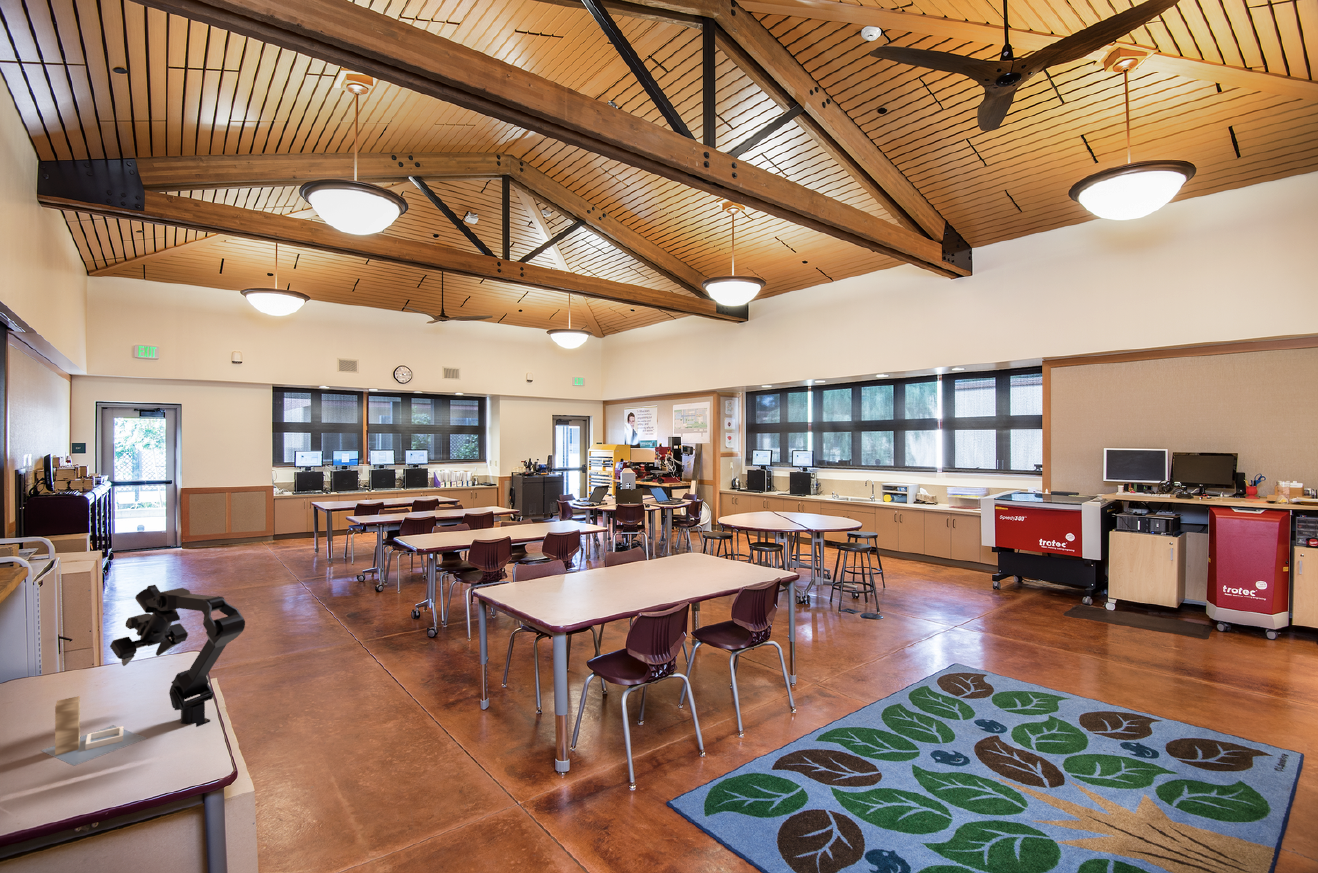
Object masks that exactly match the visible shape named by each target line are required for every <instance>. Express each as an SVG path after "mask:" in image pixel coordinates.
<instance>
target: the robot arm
mask: <svg viewBox="0 0 1318 873" xmlns="http://www.w3.org/2000/svg"><path fill="white" fill-rule="evenodd" d="M135 601H136V602H137V604H138V605H139V606H140V608H142V610H143V611H144V613H143V614H142V613H141V614H139V615H134V616H131V617H128V618H127V619H126V621H125V627H126V628H128V630H132V629H134V630H136V635H137V636H138V637H139V638H140V639H136V640H132V639H131V637H130V636H124V637H120V638H117V639H113V640H112V642H111V644H110V645H109V648H110V649H111V650H112V652H113V653H114V655H115V656H116V657H117V659H120V660H121V665H122V666H123V667H125V666H127V665H128V664H129V662H131V661H132V659H133V658H134V657H136V656H135V654H136V653H137V649H140V648H144V647H147V646H148V647H151V646H155V645H157V644H159V645H158V647H157V650H156V652H155V656H156V657H159V656H160V655H161V656H162V655H163V654H164V653H165V652H167V651H168V650H171V649H172V648H174V647H175V646H177V645H178V644H181V643H182V642H185V641H186V640H187V638H188V637H189V632H188V631H187V630H186V629H185V627H184V626H183V625H182V624H181V623H174V624H172V623H173V622H177V621H181V616H180V615H179V613H178V609H181V610H189V611H198V612H202V613H203V622H202V624H203V627H204V628H205V630H206V632H205V633H206V636H207V640H206V642H205V644H204V646H203V647H202V648H201V650H200V652H199V653H198V655H197V656H196V658H195V660H194V661H193V663H192V665H191V666H190V668H188V669H187V670H184V671H180V672H178V673H177V674H176V675H175V677H174V678H173V680H172V681H171V686H170V688H169V692H168V695H169V697H170V703H171V707H172V709H174V711H180V724H183V725H190V724H191V725H194V724H195V727H196V728H197V727H200V726H203V725H205V724H208V723H210V722H211V719H210V718H207V717H206V714H205V713H206V711H205V710H206V707H205V706H206V702H208V701H209V700H213V698H214V695H215V694H214V691H213V689H212V688H211V686H210V684H209V679H208V677H207V676H208V675H209V673H210V671H211V670H212V668H213V666H214V665H215V663H216V662H217V660H218V659H219V657H220V655H221V654H222V653H223V651H224V649H225V648H226V647H227V645H228V644H229V643H230V642H231V641H234V640H235V639H236V638H238V637H239V636H240V635H241V634H242V633H243V631H244V630H245V627H246V620H245V618H244V616H243V615H242V614H241V612H240V610H239V609H238V608H237V607H235V606H234V605H232V604H230V603H229V602H227V601H226V599H225V597H223V596H220V595H216V596H215V595H204V594H196V593H191V590H189V589H187V588H185V587H179V588H175V589H169V590H164V591H161V590H159V588H158V586H157V585H156V584H150V585H147V587H146V588H144V589H143V590H141V591H140V592H138V593H137V594H136V595H135ZM215 611H219V612H221V613H222V614H223V615H225V616H224V617H221V618H217V619H213V617H212V612H215Z"/></svg>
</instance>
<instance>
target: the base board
mask: <svg viewBox="0 0 1318 873" xmlns="http://www.w3.org/2000/svg"><path fill="white" fill-rule="evenodd" d="M116 727H118V726H116V725H111V726H108V727H105V728H102V729H100V730H96V731H93V732H92V733H94V732H99V731H103V730H107V729H112V728H116ZM115 736H119V733H117V734H113V735H109V736H104V737H100V738H96V739H92V740H91V742H94V741H98V740H102V739H106V738H111V737H115ZM86 739H87V734H85V735H80V745H79V750H75V751H70V752H66V753H62V754H58V755H55V745H53V746H50V747H47V748H44V749H41V750H40V751H41V752H42V753H45V754H47V755H49V756H51V757H54V758H56V759H58V760H60V761H62V762H65V763H66V764H69V765H71V766H73V767H74V766H77V765H80V764H84V763H86V762H88V761H91V760H94V759H96V758H99V757H101V756H104V755H106V754H110V753H112V752H114V751H116V750H120V749H122V748H125V747H128V746H130V745H133V744H135V743H138V742H142V741H145V740H146V739H148V737H145V736H143V735H140V734H137V733H135V732H132V731H129V730H127V729H124V732H123V741H121V742H117V743H113V744H109V745H104V746H100V747H96V748H92V749H88V750H85V744H86Z"/></svg>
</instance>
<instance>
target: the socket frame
mask: <svg viewBox="0 0 1318 873" xmlns="http://www.w3.org/2000/svg"><path fill="white" fill-rule="evenodd" d="M124 728H125V727H124V725H121V726H117V727H116V728H112V729H107V730H103V731H99V730H98V731H99V732H96V731H93V732H94V733H93V732H91V733H87V734H86V735H87V739H86V744H85V750H88V749H92V748H96V747H100V746H104V745H109V744H113V743H117V742H121V741H123V732H124V730H125V729H124ZM117 733H119V736H115V737H111V738H106V739H102V740H98V741H94V742H91V740H92V739H96V738H100V737H104V736H109V735H113V734H117Z"/></svg>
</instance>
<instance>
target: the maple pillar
mask: <svg viewBox="0 0 1318 873" xmlns="http://www.w3.org/2000/svg"><path fill="white" fill-rule="evenodd" d="M54 708H55V714H54V720H55V721H54V722H55V724H54V727H55V729H54V730H55V733H54V736H55V738H54V739H55V742H54V743H55V744H54V746H55V755H58V754H62V753H66V752H70V751H75V750H79V745H80V737H81V696H80V695H79V696H73V697H68V698H63V699H58V700H56V703H55V706H54Z"/></svg>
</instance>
